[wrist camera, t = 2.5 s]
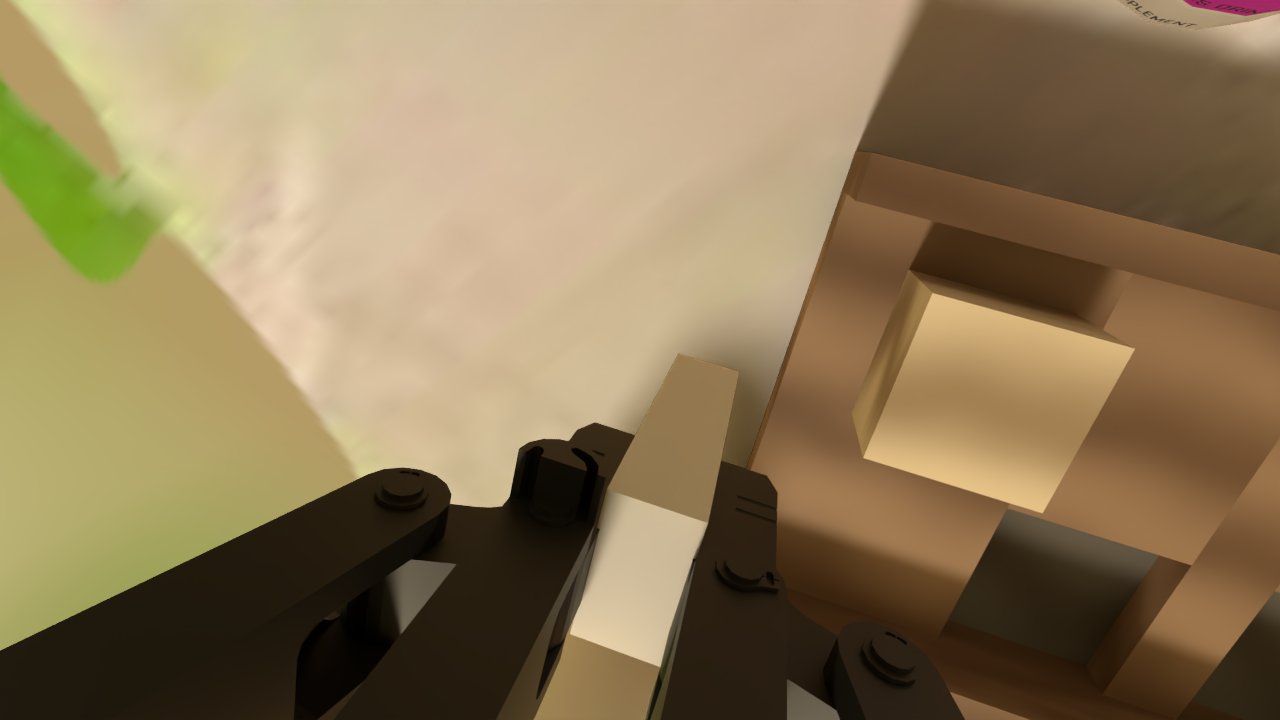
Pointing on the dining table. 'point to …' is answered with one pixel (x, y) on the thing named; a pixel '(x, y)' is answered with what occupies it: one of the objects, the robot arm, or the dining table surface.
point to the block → (984, 390)
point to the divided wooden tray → (1091, 487)
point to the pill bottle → (597, 684)
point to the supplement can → (1202, 11)
